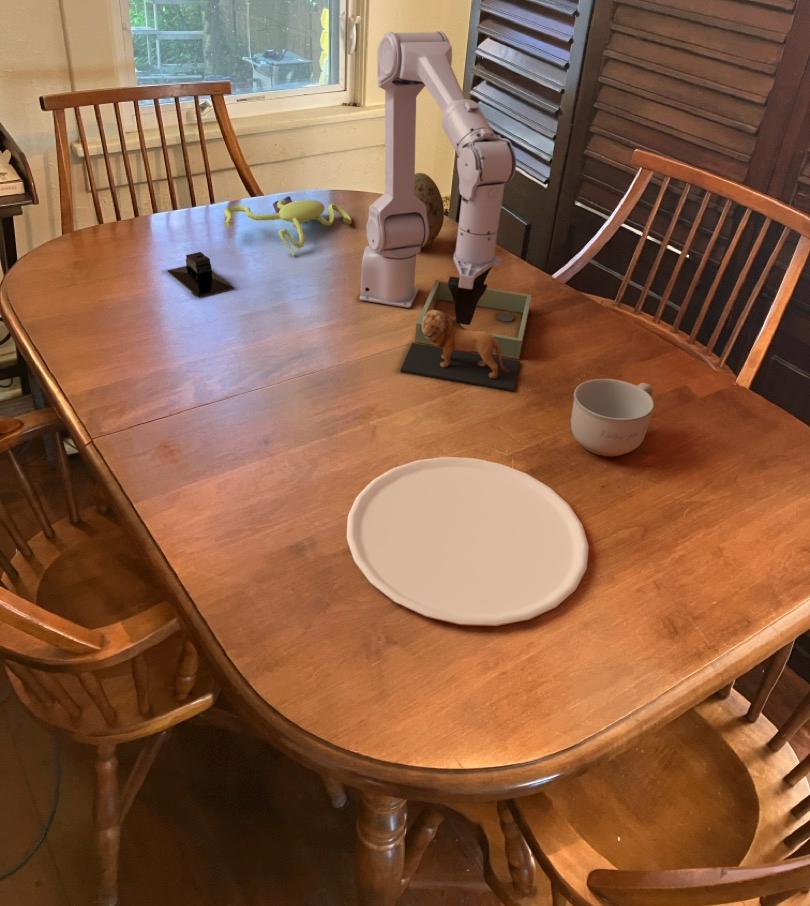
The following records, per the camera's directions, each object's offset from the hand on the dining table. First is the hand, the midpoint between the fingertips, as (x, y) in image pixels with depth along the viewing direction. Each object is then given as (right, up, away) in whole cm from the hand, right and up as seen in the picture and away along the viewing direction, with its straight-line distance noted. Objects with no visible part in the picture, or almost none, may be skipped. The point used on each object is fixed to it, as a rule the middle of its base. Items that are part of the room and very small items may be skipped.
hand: (467, 311), depth 124 cm
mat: (-1, -8, +5) cm, 9 cm away
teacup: (+20, -20, -8) cm, 30 cm away
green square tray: (+3, 0, +16) cm, 16 cm away
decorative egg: (-8, +21, +42) cm, 48 cm away
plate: (-2, -32, -27) cm, 42 cm away
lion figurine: (-1, -8, +4) cm, 9 cm away
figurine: (-34, +25, +44) cm, 61 cm away
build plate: (-47, +10, +23) cm, 54 cm away
